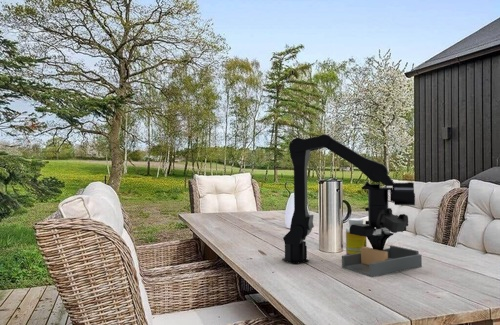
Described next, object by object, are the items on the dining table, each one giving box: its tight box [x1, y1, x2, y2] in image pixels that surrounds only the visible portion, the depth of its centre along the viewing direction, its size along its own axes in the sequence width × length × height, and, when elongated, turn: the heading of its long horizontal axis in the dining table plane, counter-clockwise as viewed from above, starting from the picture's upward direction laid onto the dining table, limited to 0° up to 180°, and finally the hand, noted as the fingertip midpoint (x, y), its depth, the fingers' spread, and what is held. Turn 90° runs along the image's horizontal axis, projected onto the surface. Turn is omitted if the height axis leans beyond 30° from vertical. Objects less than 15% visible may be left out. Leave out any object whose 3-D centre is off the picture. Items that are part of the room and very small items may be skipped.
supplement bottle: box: [345, 217, 367, 255], centre depth 131 cm, size 7×7×13 cm
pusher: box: [361, 246, 388, 265], centre depth 117 cm, size 1×9×5 cm, turn 30°
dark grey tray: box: [341, 244, 423, 278], centre depth 118 cm, size 21×12×5 cm, turn 120°
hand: (378, 256), depth 118 cm, fingers closed
